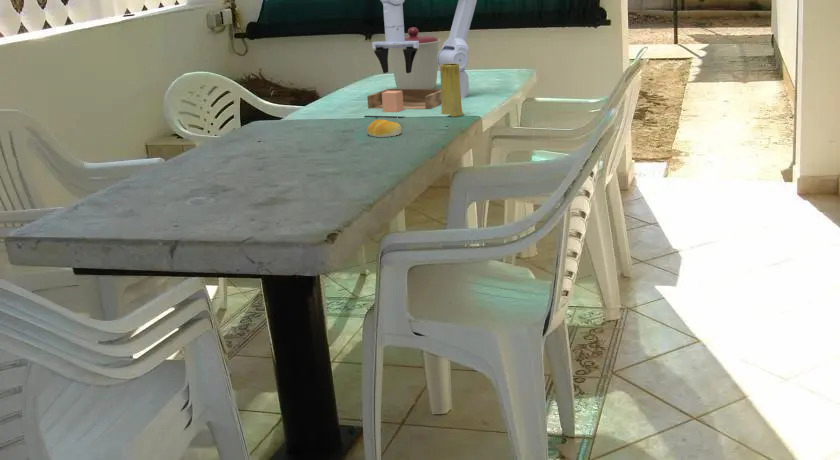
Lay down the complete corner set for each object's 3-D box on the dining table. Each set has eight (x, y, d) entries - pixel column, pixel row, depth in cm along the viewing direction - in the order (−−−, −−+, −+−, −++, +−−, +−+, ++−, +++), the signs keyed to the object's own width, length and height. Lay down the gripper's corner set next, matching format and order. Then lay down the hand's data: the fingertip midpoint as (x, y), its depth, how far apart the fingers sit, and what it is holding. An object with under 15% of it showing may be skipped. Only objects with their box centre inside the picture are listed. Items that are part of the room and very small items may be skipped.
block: (389, 110, 261) (388, 90, 259) (403, 111, 259) (402, 90, 258) (383, 113, 257) (381, 93, 255) (397, 113, 255) (395, 93, 254)
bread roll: (384, 139, 222) (383, 124, 221) (362, 135, 229) (361, 120, 228) (409, 134, 227) (408, 118, 226) (387, 130, 234) (386, 115, 233)
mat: (379, 111, 263) (379, 110, 263) (416, 111, 258) (416, 110, 258) (364, 117, 255) (364, 116, 255) (401, 118, 250) (401, 117, 250)
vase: (463, 113, 252) (461, 62, 248) (462, 116, 246) (459, 65, 242) (441, 114, 253) (439, 63, 248) (440, 117, 247) (437, 66, 243)
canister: (381, 90, 305) (377, 28, 299) (429, 85, 312) (425, 24, 306) (403, 96, 289) (399, 30, 283) (452, 90, 297) (449, 26, 290)
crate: (388, 103, 278) (387, 88, 276) (447, 103, 269) (447, 89, 268) (368, 110, 265) (367, 95, 264) (429, 111, 257) (428, 96, 256)
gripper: (366, 28, 261) (369, 74, 265) (410, 27, 255) (413, 74, 259) (376, 26, 267) (380, 71, 271) (420, 25, 261) (423, 71, 265)
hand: (397, 72), depth 266 cm, fingers open, 7 cm apart
